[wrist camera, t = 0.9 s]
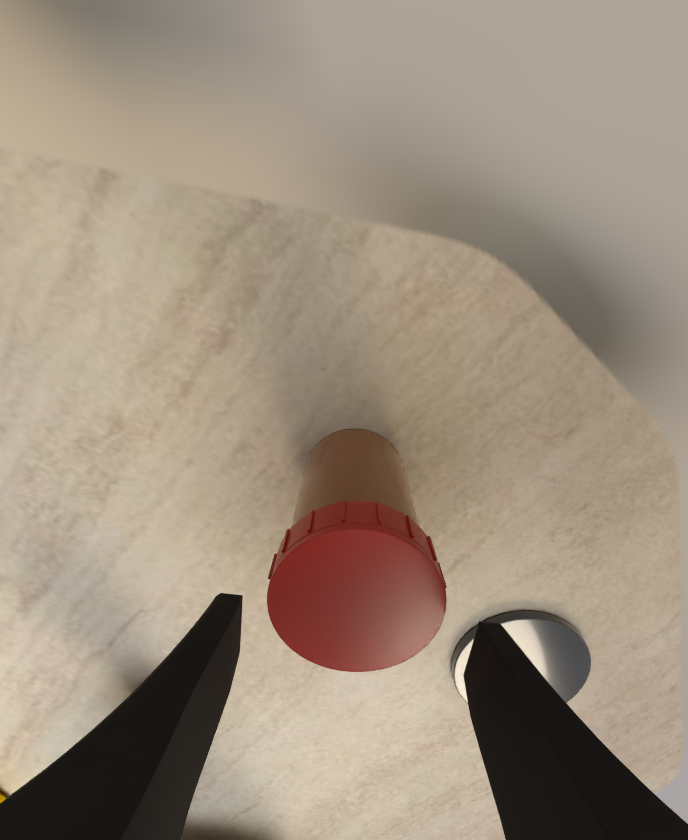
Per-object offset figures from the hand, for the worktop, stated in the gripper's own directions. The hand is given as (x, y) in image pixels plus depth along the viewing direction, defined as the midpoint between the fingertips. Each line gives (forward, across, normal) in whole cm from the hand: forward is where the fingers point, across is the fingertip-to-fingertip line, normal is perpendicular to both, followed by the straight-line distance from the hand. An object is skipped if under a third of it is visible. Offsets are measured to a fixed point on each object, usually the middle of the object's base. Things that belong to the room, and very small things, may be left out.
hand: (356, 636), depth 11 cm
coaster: (+10, -11, +11) cm, 19 cm away
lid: (+1, 0, 0) cm, 1 cm away
